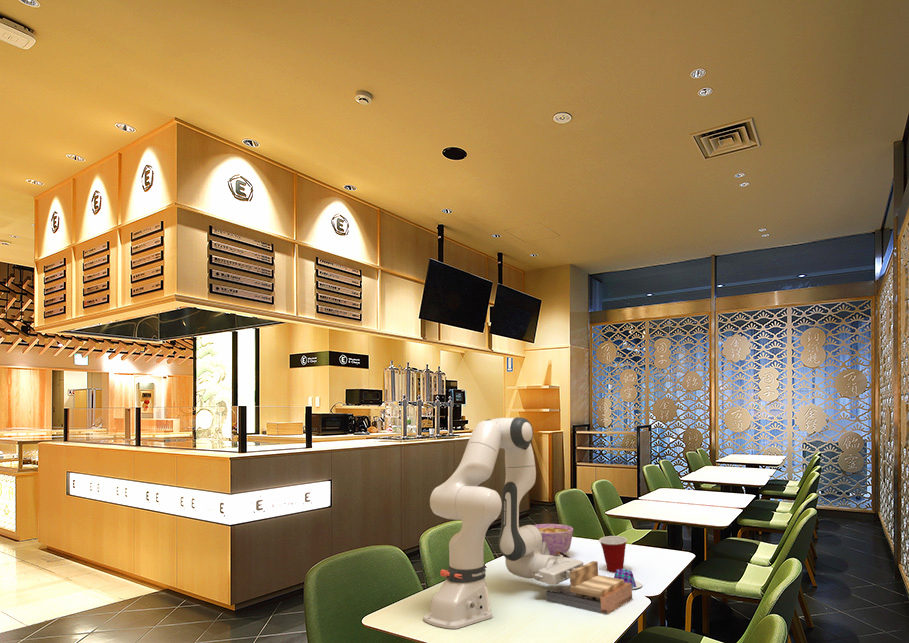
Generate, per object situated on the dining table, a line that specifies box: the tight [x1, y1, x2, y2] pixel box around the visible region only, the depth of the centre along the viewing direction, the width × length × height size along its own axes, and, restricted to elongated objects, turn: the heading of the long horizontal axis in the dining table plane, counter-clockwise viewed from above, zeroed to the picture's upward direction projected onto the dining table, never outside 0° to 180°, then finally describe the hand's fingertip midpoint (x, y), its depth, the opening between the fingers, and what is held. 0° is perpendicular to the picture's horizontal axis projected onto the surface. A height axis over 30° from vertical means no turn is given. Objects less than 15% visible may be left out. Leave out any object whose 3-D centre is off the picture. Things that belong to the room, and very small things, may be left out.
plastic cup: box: [598, 535, 628, 574], centre depth 232 cm, size 11×11×12 cm
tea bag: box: [541, 542, 550, 555], centre depth 240 cm, size 4×7×10 cm, turn 37°
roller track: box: [545, 583, 633, 615], centre depth 198 cm, size 18×22×5 cm
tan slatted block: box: [569, 560, 624, 601], centre depth 196 cm, size 16×11×9 cm
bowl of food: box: [533, 523, 574, 556], centre depth 256 cm, size 20×20×12 cm
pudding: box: [613, 568, 643, 590], centre depth 213 cm, size 12×12×5 cm
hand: (582, 575), depth 200 cm, fingers closed, pressing on tan slatted block
